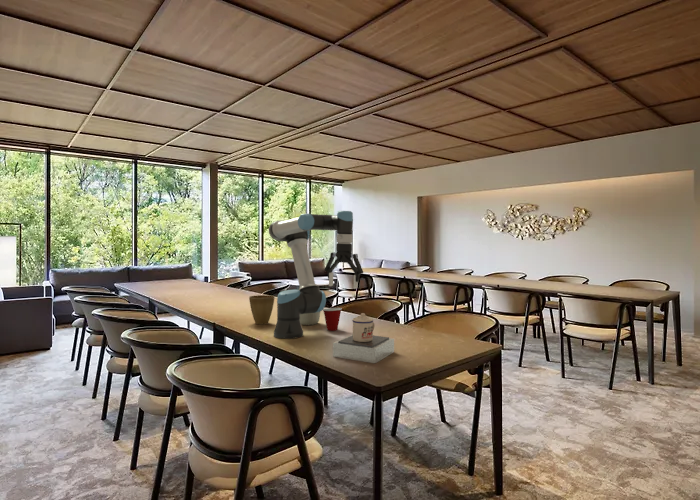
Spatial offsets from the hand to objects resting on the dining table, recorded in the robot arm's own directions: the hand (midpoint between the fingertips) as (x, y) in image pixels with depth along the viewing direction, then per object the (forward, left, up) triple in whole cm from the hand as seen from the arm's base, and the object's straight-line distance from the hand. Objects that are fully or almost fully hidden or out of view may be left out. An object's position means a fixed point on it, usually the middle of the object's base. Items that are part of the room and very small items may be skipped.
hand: (343, 287), depth 205 cm
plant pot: (-65, +18, -28) cm, 73 cm away
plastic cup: (-20, +24, -28) cm, 42 cm away
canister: (-41, +31, -28) cm, 59 cm away
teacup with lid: (+18, -12, -21) cm, 30 cm away
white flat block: (+18, -9, -27) cm, 34 cm away
